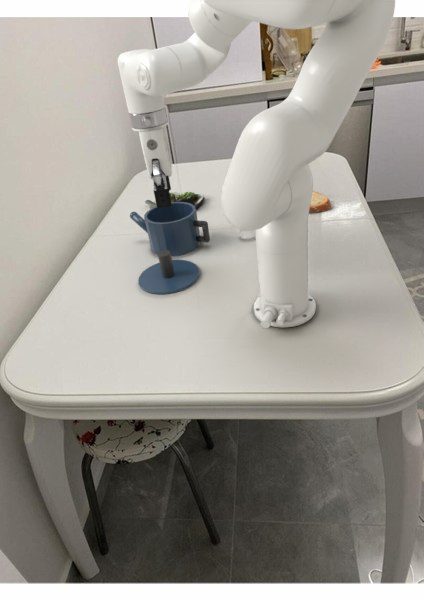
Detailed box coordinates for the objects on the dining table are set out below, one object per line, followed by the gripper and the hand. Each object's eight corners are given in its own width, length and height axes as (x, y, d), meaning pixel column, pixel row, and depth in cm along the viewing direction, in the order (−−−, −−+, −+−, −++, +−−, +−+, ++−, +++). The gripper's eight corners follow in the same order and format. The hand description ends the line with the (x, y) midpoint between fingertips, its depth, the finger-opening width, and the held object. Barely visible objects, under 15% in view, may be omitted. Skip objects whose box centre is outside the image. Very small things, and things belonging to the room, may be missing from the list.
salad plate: (132, 216, 141) (129, 202, 139) (161, 194, 154) (158, 182, 151) (184, 221, 133) (181, 206, 130) (210, 198, 146) (208, 184, 143)
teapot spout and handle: (208, 244, 114) (204, 217, 110) (133, 238, 123) (127, 213, 119) (211, 240, 116) (208, 213, 111) (137, 234, 124) (131, 210, 120)
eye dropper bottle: (260, 240, 116) (257, 198, 109) (239, 241, 118) (235, 198, 111) (262, 233, 120) (259, 191, 113) (242, 233, 121) (238, 192, 114)
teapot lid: (183, 300, 98) (178, 272, 94) (128, 292, 103) (120, 266, 99) (209, 266, 109) (205, 240, 104) (157, 261, 114) (151, 236, 110)
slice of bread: (333, 210, 125) (334, 198, 123) (270, 217, 127) (270, 205, 125) (321, 188, 140) (321, 177, 138) (265, 194, 142) (264, 183, 140)
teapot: (188, 260, 112) (182, 225, 107) (142, 256, 118) (134, 222, 112) (208, 236, 122) (203, 202, 117) (165, 233, 128) (159, 201, 122)
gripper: (167, 126, 82) (182, 210, 92) (166, 108, 96) (179, 183, 106) (127, 132, 82) (146, 216, 92) (133, 113, 96) (149, 187, 106)
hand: (164, 198), depth 99 cm, fingers open, 9 cm apart
